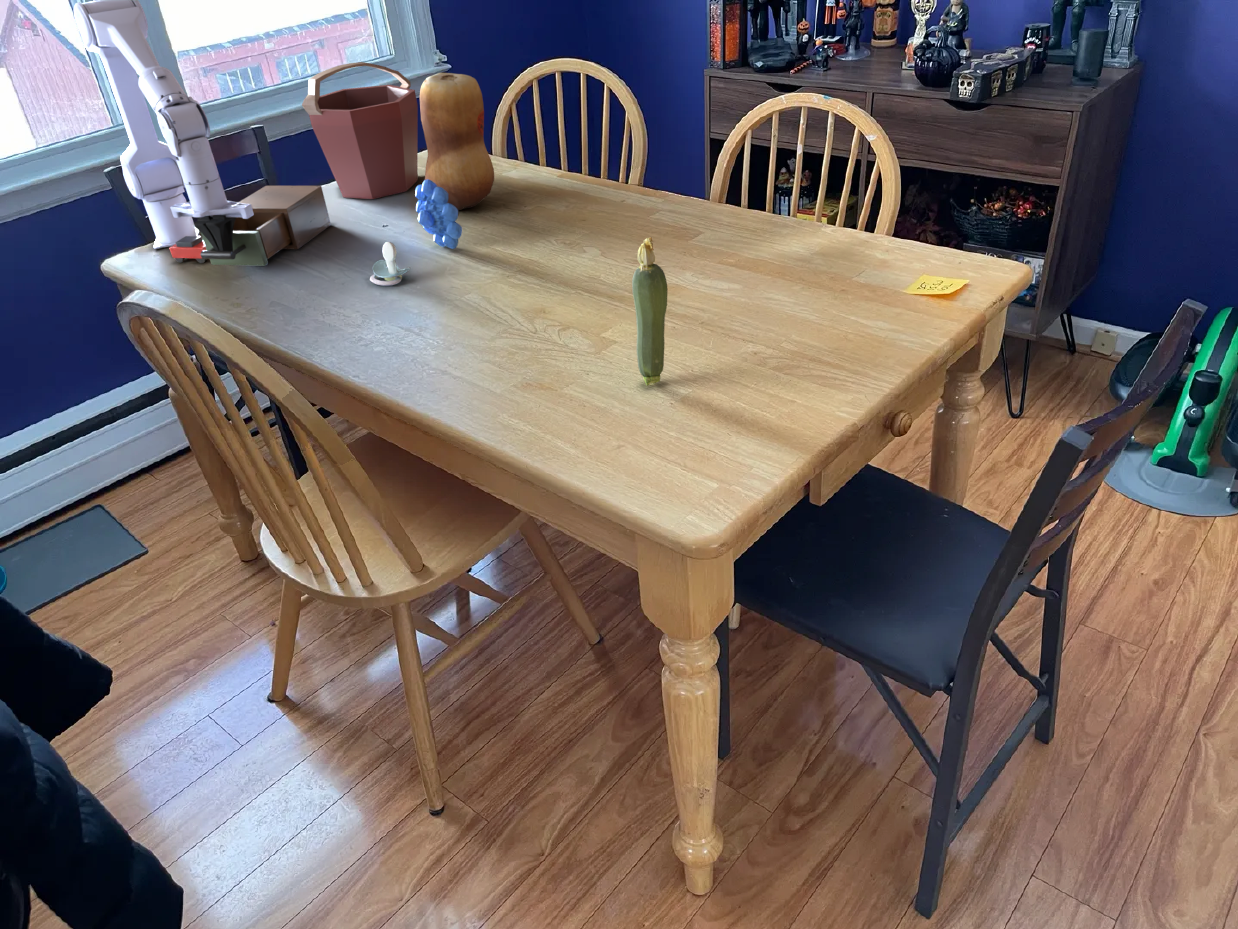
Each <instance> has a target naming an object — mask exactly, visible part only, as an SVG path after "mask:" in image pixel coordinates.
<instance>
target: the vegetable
mask: <svg viewBox="0 0 1238 929" xmlns="http://www.w3.org/2000/svg"><path fill="white" fill-rule="evenodd" d="M652 242H653V243H654V241H653V238H652V237H649V236H648V237H646V238H645V239H644V240H643V243H641V244H640V246H639V248H638V250H637V254H636V255H637V256H636V257H637V258H636V259H637V261H638V263H639V264H640V265H639V266H638V267H637V268H635V270H634V273H633V276H632V279H631V286H632V287H631V289H632V298H633V304H634V310H635V319H636V320H635V321H636V359H637V367H638V372H639V373H640V375H641V376H642V378H643V381H644V383H645V385H646V386H647V387H648V386H649V385H651V384H656V383H658V382H661V374H662V373H663V371H664V366H665V342H666V341H665V322H666V313H667V308H668V294H669V293H668V291H669V290H668V282H667V277H666V274H665V272H664V270H663V268H662V267H661V266H659V264H657V263H655V262H656V255H655V252H654V251H655V249H654V245H653V243H652Z"/></svg>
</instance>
